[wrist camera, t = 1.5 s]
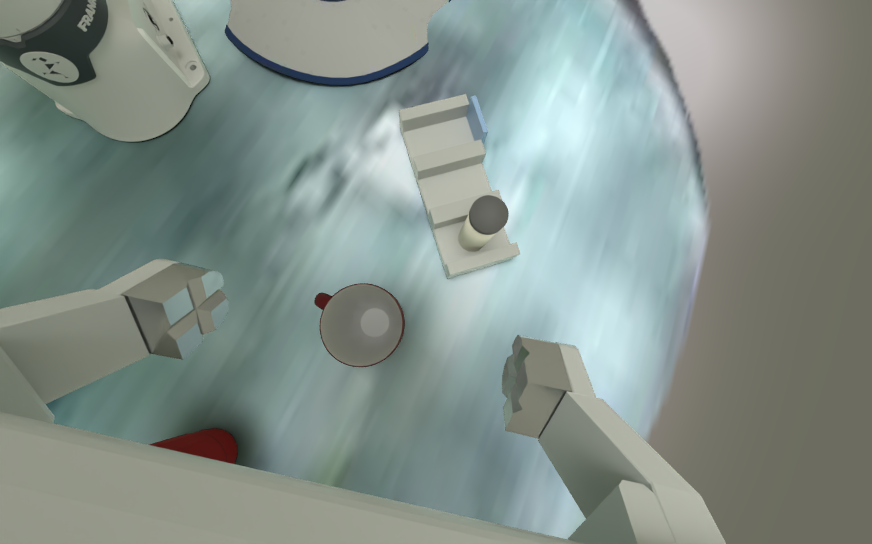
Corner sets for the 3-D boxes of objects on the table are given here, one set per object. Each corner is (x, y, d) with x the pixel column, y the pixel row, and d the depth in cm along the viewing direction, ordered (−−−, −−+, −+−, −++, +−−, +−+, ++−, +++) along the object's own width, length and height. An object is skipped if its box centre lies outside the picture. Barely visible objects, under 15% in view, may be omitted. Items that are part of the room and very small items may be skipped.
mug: (314, 336, 40) (281, 343, 30) (338, 276, 41) (313, 263, 31) (394, 363, 40) (386, 379, 30) (415, 302, 41) (415, 298, 31)
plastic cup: (229, 521, 37) (139, 621, 25) (147, 478, 37) (17, 555, 25) (279, 431, 38) (217, 484, 26) (200, 390, 38) (102, 423, 26)
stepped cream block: (400, 128, 44) (398, 102, 39) (465, 112, 45) (471, 84, 40) (447, 278, 42) (451, 273, 36) (515, 258, 43) (529, 249, 37)
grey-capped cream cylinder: (453, 228, 41) (465, 200, 31) (481, 220, 42) (501, 190, 32) (462, 256, 41) (477, 236, 31) (490, 247, 41) (513, 226, 31)
